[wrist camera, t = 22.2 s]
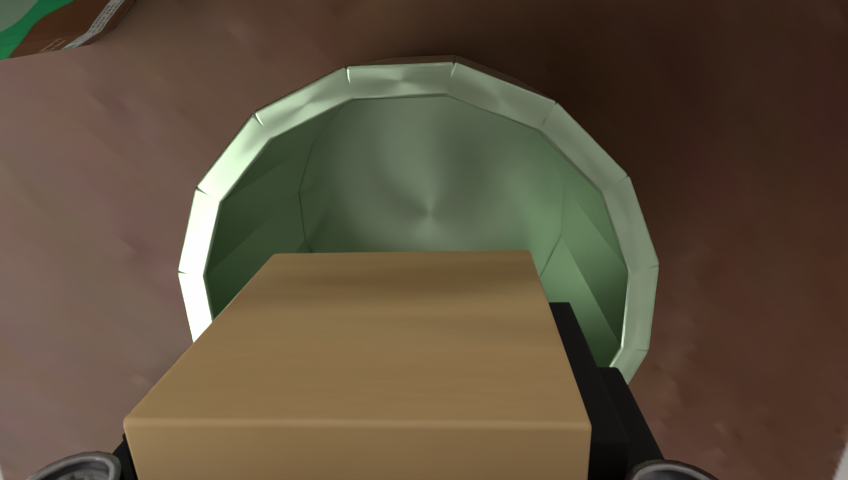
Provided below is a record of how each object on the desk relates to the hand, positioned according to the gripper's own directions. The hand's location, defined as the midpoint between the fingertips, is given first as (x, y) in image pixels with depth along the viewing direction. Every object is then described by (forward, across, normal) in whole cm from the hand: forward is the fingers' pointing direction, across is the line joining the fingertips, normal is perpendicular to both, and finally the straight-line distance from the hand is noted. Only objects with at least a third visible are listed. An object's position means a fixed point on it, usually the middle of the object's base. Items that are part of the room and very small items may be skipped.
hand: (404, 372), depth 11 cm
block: (0, 0, 0) cm, 0 cm away
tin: (+11, 0, 0) cm, 11 cm away
